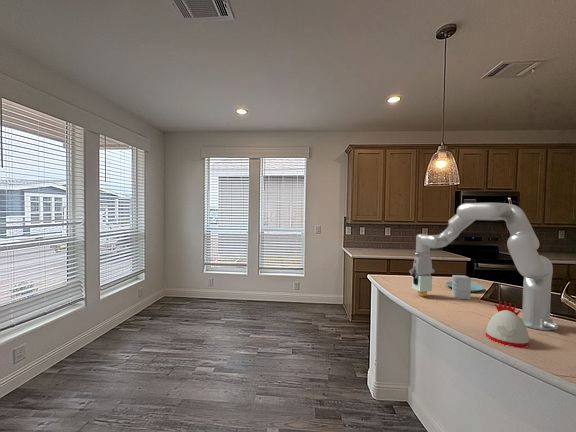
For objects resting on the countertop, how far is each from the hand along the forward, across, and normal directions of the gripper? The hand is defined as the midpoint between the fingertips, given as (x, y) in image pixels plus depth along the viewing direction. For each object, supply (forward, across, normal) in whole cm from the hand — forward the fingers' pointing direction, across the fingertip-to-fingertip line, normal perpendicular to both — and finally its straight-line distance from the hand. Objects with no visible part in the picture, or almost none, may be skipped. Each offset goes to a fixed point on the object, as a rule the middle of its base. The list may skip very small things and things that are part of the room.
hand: (421, 283), depth 176 cm
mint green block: (+3, 0, 0) cm, 3 cm away
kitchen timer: (+7, -5, -59) cm, 60 cm away
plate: (+8, +40, +11) cm, 42 cm away
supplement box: (+8, +22, -6) cm, 24 cm away
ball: (+5, 0, -1) cm, 5 cm away
